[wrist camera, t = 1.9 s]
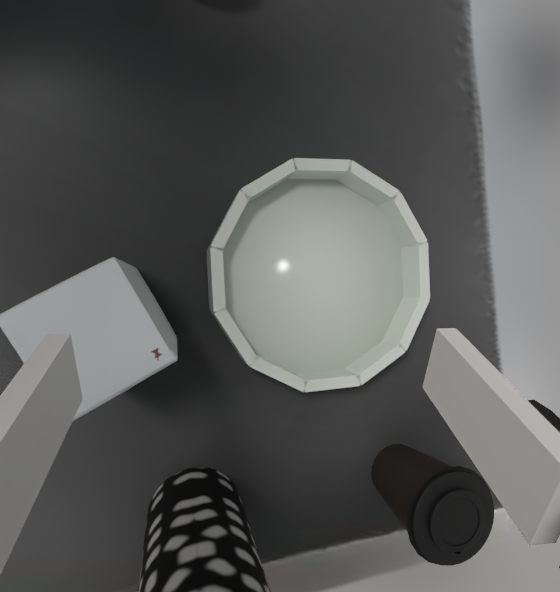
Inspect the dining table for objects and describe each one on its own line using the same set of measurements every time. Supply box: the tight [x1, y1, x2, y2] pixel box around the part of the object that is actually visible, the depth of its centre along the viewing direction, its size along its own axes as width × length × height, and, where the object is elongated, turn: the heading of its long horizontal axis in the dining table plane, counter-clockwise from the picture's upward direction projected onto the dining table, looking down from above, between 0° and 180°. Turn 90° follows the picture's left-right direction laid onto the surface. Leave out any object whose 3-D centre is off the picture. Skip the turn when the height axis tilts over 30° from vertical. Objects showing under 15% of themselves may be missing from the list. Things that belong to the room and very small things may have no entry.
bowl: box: [206, 158, 430, 392], centre depth 38 cm, size 20×20×4 cm
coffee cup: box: [372, 444, 494, 565], centre depth 38 cm, size 8×8×10 cm
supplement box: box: [0, 257, 178, 422], centre depth 30 cm, size 7×7×13 cm
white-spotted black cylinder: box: [139, 467, 270, 592], centre depth 28 cm, size 8×8×20 cm
